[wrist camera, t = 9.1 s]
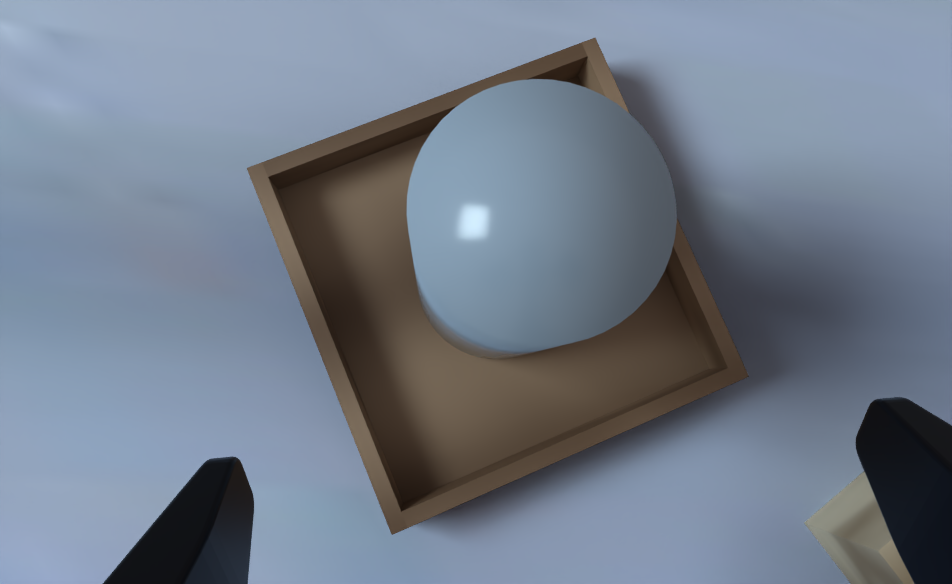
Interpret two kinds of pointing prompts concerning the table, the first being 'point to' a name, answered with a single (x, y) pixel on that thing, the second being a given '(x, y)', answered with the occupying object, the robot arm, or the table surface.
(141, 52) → the table surface
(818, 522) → the beech cube
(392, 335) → the tray
